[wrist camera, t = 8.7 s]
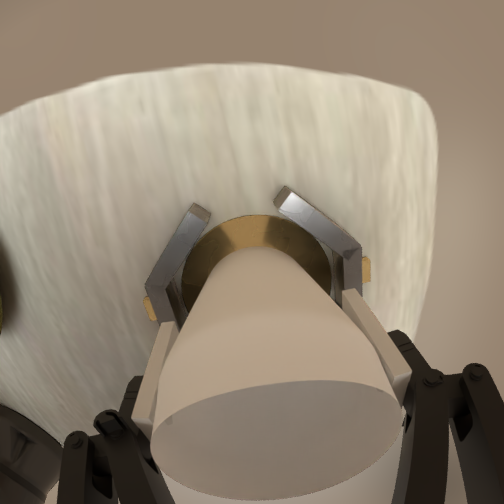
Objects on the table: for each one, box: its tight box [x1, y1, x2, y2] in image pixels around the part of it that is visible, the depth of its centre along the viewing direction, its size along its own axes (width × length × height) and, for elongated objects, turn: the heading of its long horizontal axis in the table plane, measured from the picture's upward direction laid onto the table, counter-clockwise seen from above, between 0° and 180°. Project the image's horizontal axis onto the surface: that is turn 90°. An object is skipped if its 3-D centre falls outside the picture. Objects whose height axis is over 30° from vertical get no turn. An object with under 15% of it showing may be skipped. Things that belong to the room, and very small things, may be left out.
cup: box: [150, 246, 403, 500], centre depth 14 cm, size 9×9×12 cm
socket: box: [143, 186, 370, 333], centre depth 18 cm, size 15×13×2 cm
